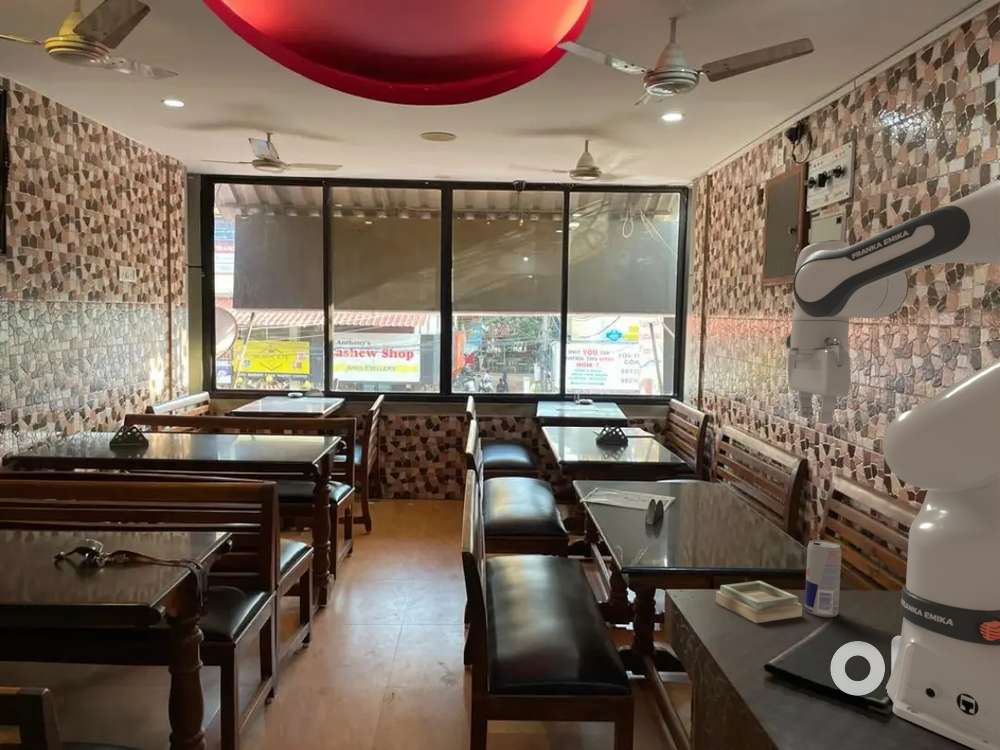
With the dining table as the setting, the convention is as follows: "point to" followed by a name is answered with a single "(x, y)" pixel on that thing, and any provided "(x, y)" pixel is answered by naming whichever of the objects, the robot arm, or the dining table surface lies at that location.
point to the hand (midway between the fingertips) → (815, 420)
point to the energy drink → (823, 578)
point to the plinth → (758, 601)
